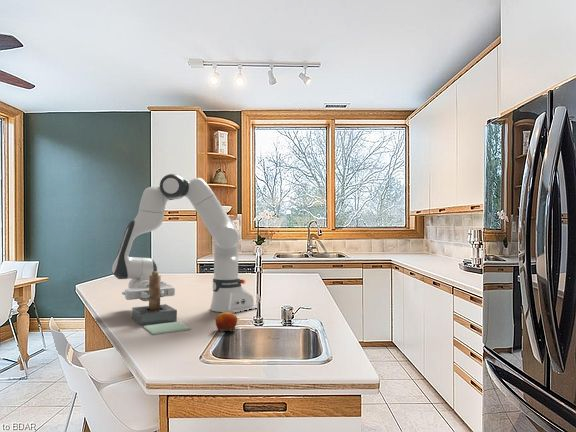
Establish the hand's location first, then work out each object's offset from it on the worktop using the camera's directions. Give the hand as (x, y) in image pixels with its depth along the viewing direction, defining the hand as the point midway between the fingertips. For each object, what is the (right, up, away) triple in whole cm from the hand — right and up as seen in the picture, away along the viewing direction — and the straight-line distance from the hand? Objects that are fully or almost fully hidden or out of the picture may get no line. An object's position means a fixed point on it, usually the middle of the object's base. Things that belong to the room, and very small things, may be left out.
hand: (155, 295), depth 174 cm
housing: (-1, -10, +1) cm, 10 cm away
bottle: (-1, -10, +1) cm, 10 cm away
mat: (+8, -10, -13) cm, 18 cm away
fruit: (+31, -11, -14) cm, 36 cm away
